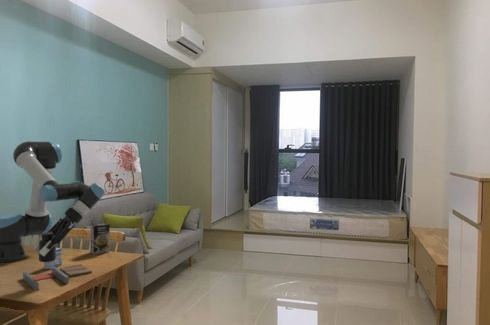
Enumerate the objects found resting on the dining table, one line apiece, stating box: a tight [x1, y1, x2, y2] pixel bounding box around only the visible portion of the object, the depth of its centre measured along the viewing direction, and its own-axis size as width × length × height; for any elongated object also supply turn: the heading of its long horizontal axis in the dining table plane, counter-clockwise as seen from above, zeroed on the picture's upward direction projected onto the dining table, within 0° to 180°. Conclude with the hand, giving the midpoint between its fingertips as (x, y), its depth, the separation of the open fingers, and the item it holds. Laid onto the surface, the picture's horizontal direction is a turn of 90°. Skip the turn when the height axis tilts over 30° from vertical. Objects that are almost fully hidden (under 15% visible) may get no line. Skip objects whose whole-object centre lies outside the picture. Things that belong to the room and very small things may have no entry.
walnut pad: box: [59, 263, 93, 278], centre depth 190 cm, size 14×10×1 cm
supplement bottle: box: [38, 232, 57, 263], centre depth 173 cm, size 7×7×12 cm
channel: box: [22, 266, 70, 291], centre depth 176 cm, size 20×13×3 cm
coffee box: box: [89, 222, 111, 255], centre depth 225 cm, size 9×6×16 cm
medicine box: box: [43, 247, 63, 270], centre depth 197 cm, size 8×4×9 cm, turn 168°
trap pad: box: [32, 272, 55, 282], centre depth 180 cm, size 6×9×1 cm, turn 133°
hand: (38, 252), depth 171 cm, fingers closed on supplement bottle, 7 cm apart
